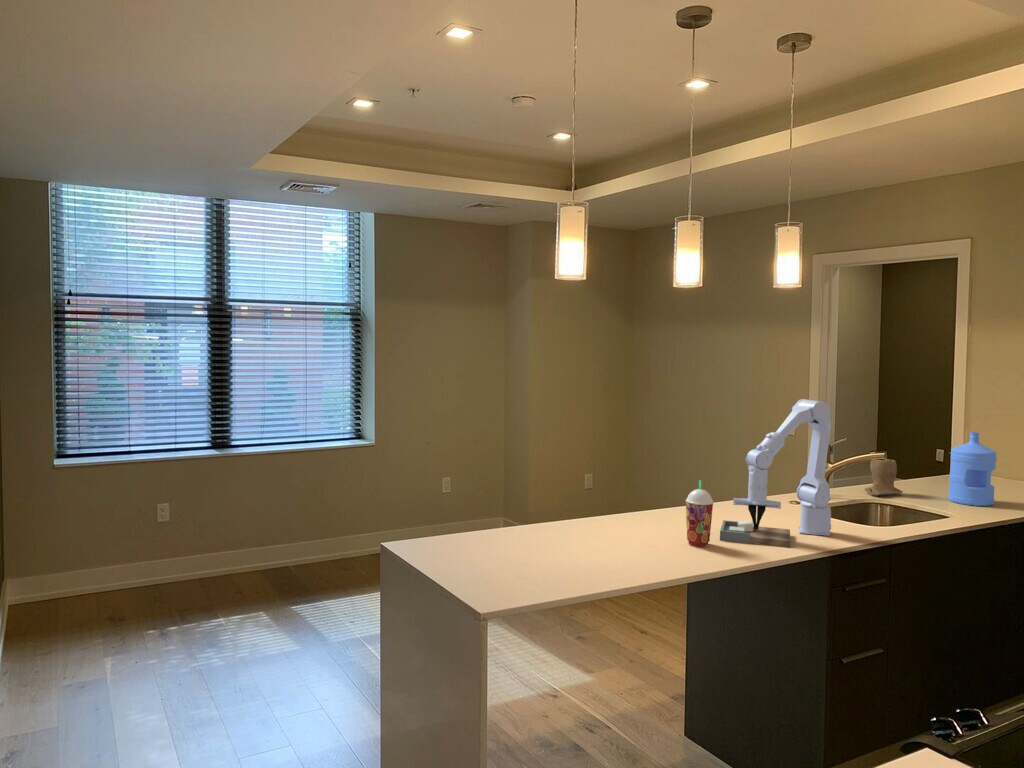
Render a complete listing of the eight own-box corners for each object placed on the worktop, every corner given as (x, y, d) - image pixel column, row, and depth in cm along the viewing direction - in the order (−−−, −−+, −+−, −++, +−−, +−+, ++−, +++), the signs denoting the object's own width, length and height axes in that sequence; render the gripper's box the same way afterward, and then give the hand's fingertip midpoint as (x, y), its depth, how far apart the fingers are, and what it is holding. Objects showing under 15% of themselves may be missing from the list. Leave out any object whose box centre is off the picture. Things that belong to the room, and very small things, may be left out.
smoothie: (707, 540, 244) (709, 478, 242) (715, 548, 236) (717, 483, 234) (681, 540, 244) (683, 477, 242) (688, 548, 235) (690, 483, 234)
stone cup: (883, 490, 329) (885, 455, 328) (907, 496, 318) (908, 460, 317) (856, 492, 324) (857, 457, 323) (878, 498, 313) (880, 461, 312)
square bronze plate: (789, 535, 252) (789, 529, 252) (790, 547, 238) (790, 540, 238) (751, 531, 256) (751, 525, 256) (749, 543, 242) (749, 536, 242)
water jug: (939, 499, 311) (943, 430, 309) (965, 497, 318) (968, 429, 316) (976, 508, 297) (980, 435, 295) (1002, 504, 304) (1007, 434, 302)
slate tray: (751, 531, 256) (751, 522, 256) (749, 543, 242) (749, 533, 242) (723, 529, 259) (723, 520, 259) (719, 540, 245) (720, 530, 244)
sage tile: (744, 533, 248) (744, 527, 248) (743, 536, 244) (743, 531, 244) (729, 531, 250) (729, 526, 249) (728, 535, 245) (729, 529, 245)
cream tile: (753, 528, 252) (752, 520, 252) (753, 531, 248) (752, 523, 248) (739, 528, 254) (738, 521, 254) (738, 531, 250) (737, 524, 250)
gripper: (733, 487, 247) (732, 529, 248) (781, 491, 243) (779, 533, 244) (734, 483, 254) (733, 524, 255) (781, 486, 249) (779, 528, 250)
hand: (756, 528), depth 250 cm, fingers closed
